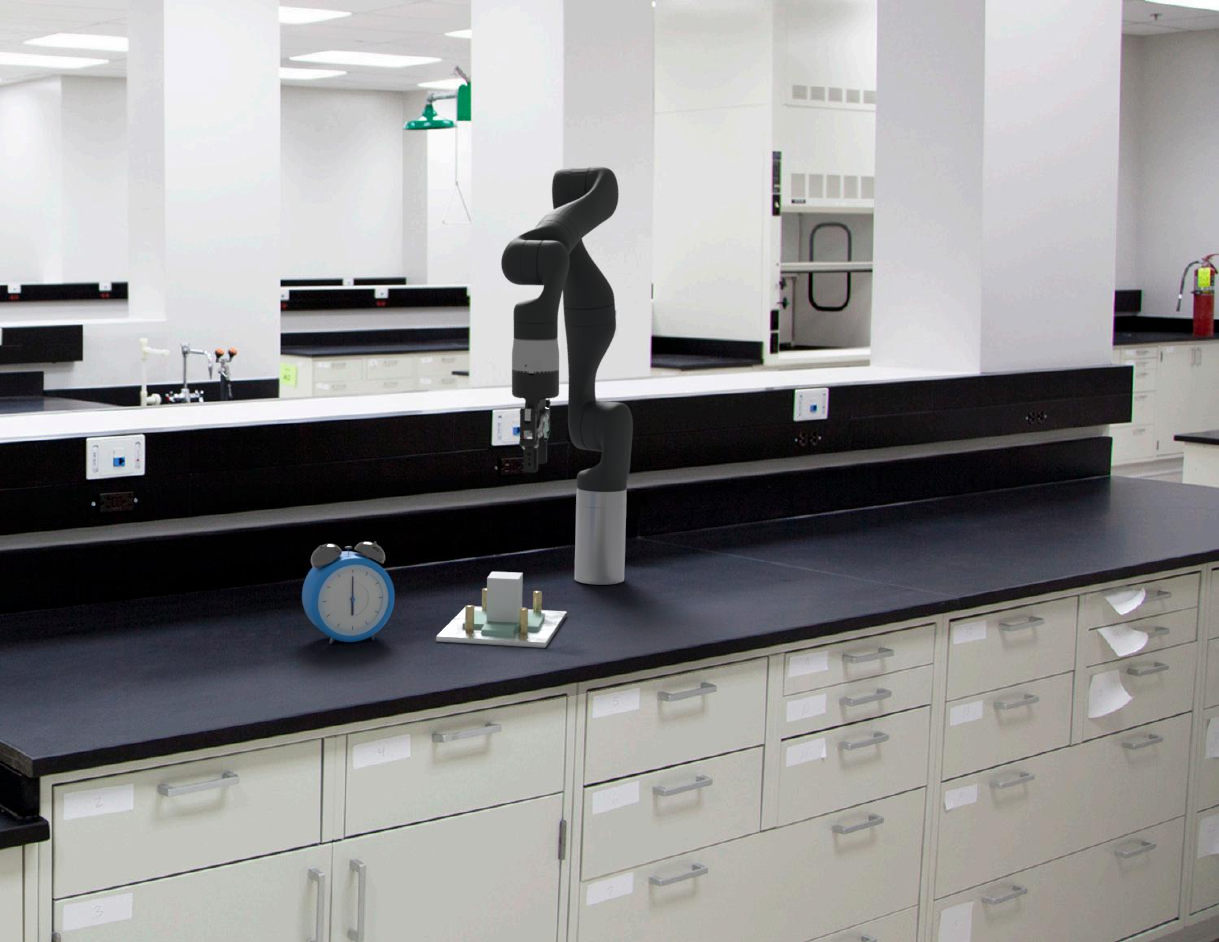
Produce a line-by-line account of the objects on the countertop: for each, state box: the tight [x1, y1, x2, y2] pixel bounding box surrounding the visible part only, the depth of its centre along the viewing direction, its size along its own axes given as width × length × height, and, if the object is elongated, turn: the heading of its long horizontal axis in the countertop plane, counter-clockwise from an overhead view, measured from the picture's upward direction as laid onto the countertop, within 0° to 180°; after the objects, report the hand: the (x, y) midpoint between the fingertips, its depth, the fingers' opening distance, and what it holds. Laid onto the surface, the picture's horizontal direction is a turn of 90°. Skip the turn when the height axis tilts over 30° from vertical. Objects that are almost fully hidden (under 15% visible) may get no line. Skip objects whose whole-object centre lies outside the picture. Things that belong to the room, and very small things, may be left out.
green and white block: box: [462, 571, 545, 636], centre depth 240 cm, size 16×12×8 cm
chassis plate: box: [435, 587, 568, 649], centre depth 240 cm, size 21×17×5 cm
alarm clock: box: [301, 541, 396, 645], centre depth 230 cm, size 13×6×15 cm, turn 116°
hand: (535, 467), depth 242 cm, fingers open, 8 cm apart
